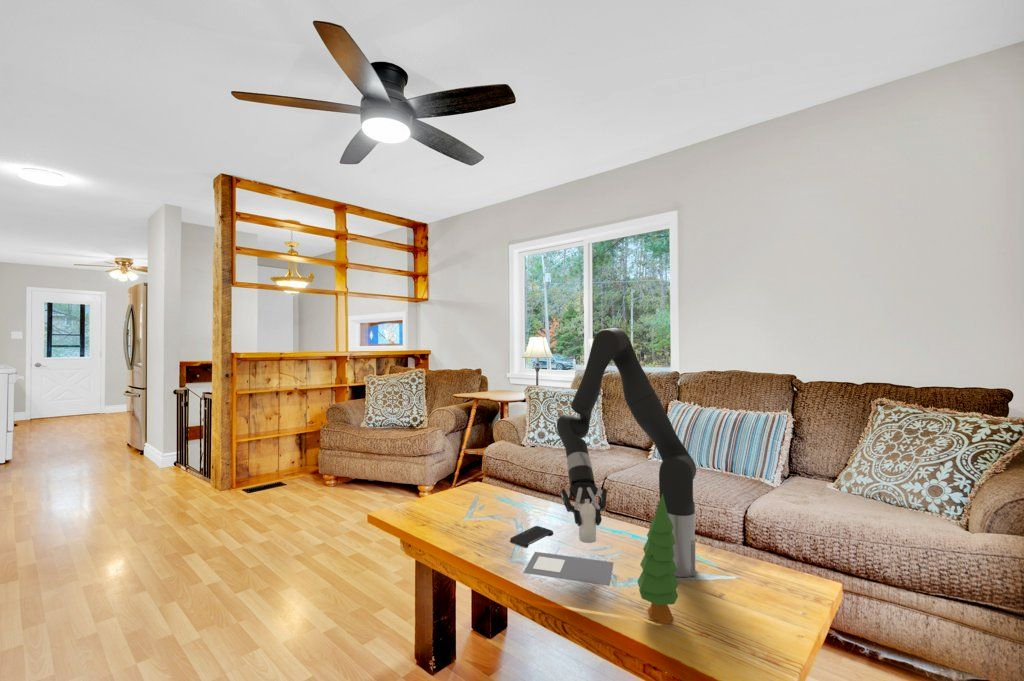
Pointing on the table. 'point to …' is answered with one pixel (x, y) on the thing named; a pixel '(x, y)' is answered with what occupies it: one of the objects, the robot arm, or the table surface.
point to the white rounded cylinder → (587, 522)
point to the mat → (570, 568)
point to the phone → (531, 536)
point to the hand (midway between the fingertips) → (588, 524)
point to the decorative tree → (659, 567)
